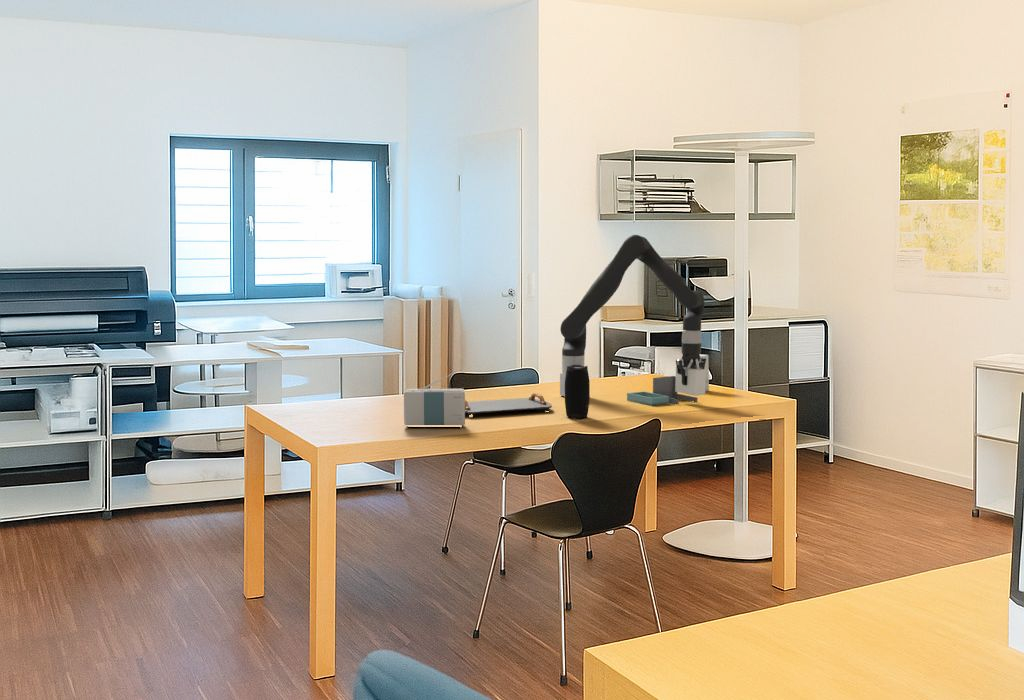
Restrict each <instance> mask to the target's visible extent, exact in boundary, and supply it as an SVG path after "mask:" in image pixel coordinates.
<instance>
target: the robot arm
mask: <svg viewBox="0 0 1024 700" xmlns="http://www.w3.org/2000/svg"><path fill="white" fill-rule="evenodd" d="M636 260H638V261H640V262H641V263H643V264H644V265H645V266H647V267H648V268H649V269H650V270H651V271H652V272H653V273H654V275H655V276H656V277H657V279H658V280H659V281H660V283H662V285H664V286H665V288H667V289H668V290H669V291H670V292H671V293H672V294H673V296H674V297H675V299H676V300H677V302H679V304H680V305H681V306H683V307H684V308H685V309H686V314H685V315H684V316H683V318H682V319H683V320H682V332H681V333H682V334H681V354H682V356H681V358H680V359H675V366H676V367H677V373H678V374H681V375H682V384H683V385H687V377H688V376H687V374H688V370H689V369H690V368H691V367H692V365H695V366H697V368H700V369H704V368H705V363H706V358H700V355H701V354H702V317H703V313H704V308H705V297H704V294H703V293H702V292H701V291H699V290H692V289H691V288H690V287H689V286H688V285H687V281H686V280H685V278H683V277H682V275H681V274H679V273H678V272H677V271H676V269H674V268H673V267H671V265H669V264H668V263H667V262H666V261H665V260H664V259H663V258H662V257H661V255H659V253H658V252H657V251H656V249H655V248H654V247H653V245H652V244H651V242H650V241H649V240H648V239H647V238H646V237H644V236H641V235H639V234H632V235H629V236H628V237H627V238H625V240H624V241H623V242H622V244H621V246H620V247H619V249H618V250H617V252H616V254H615V255H614V257H613V258H612V260H610V262H609V263H608V264H607V266H606V267H605V268H604V269H603V271H602V272H601V273H600V274H599V275H598V277H597V278H596V279H595V280H594V282H593V283H592V284H591V286H590V287H589V289H588V290H587V291H586V293H585V294H584V296H583V297H582V299H581V300H580V302H579V304H577V306H576V307H574V309H573V310H572V311H571V312H570V313H569V315H567V316H566V317H565V318H564V319H563V320H562V322H561V325H560V334H561V335H562V336H563V338H564V339H563V340H564V341H563V342H564V343H563V345H562V346H563V347H562V349H561V350H562V353H561V354H562V355H561V356H562V357H561V364H562V365H561V373H560V374H559V375H560V376H559V396H560V395H561V396H560V397H562V396H564V397H563V398H565V377H566V370H567V366H571V365H581V366H585V354H586V353H585V350H586V346H587V323H588V322H590V321H589V320H590V319H591V318H592V317H593V316H594V315H595V314H596V313H597V312H598V311H600V309H602V308H603V307H604V306H605V305H606V304H607V302H609V301H610V300H611V298H612V297H613V296H614V294H615V293H616V292H617V290H618V289H619V287H620V285H621V283H622V280H623V278H624V276H625V273H626V271H627V270H628V269H629V268H630V266H631V265H632V263H634V261H636ZM698 362H699V364H698ZM685 367H687V368H685Z"/></svg>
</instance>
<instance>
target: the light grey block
mask: <svg viewBox="0 0 1024 700" xmlns="http://www.w3.org/2000/svg"><path fill="white" fill-rule="evenodd" d="M685 368H687V367H685ZM675 376H676V383H675V392H677V393H678V394H683V395H688V396H693V397H698V396H705V395H706V392H705V384H706V369H700V368H697V366H695V365H692V367H691V368H690V369H689V370H688V374H687V376H688V377H687V385H683V384H682V375H681V374H678V373H677V366H676V367H675Z"/></svg>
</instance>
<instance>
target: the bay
mask: <svg viewBox="0 0 1024 700" xmlns="http://www.w3.org/2000/svg"><path fill="white" fill-rule="evenodd" d="M675 383H676V375H668V376H657V377H652V393H655V394H660V395H664V396H669V404H671V405H675V404H676V405H677V404H678V405H679V402H680V401H679V400H680V399H682V400H681V401H685V400H688V401H687V402H690V401H694V402H693V403H695V402H698V396H693V395H688V394H683V393H678V392H675ZM675 398H677V399H675Z"/></svg>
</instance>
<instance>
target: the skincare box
mask: <svg viewBox="0 0 1024 700" xmlns="http://www.w3.org/2000/svg"><path fill="white" fill-rule="evenodd" d="M700 358H706V363H705V368H704V369H706V384H705V393H706V392H708V391H709V390H710V384H709V383H710V382H709V381H710V377H709V376H710V374H709V372H710V369H709V367H710V366H709V365H710V364H709V354H700ZM698 364H699V362H698Z"/></svg>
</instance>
